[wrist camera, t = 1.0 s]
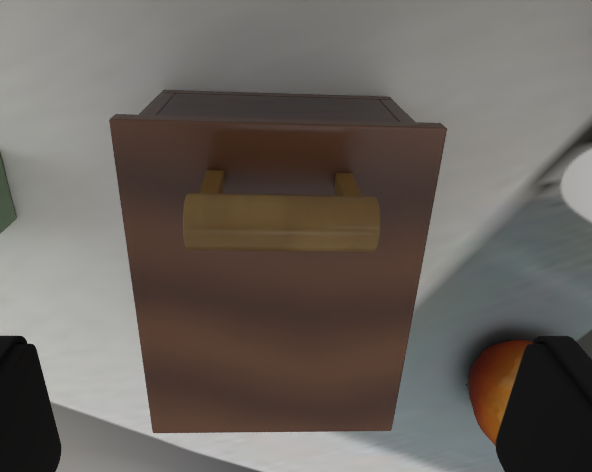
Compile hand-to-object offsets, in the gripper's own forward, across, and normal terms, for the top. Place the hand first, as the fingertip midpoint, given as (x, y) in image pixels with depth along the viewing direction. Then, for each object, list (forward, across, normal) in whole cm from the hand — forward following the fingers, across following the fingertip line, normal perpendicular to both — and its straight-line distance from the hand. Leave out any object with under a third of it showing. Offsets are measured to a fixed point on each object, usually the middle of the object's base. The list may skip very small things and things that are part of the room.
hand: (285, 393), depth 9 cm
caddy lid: (+12, 0, +6) cm, 13 cm away
